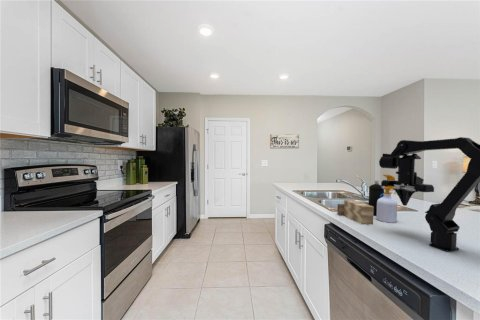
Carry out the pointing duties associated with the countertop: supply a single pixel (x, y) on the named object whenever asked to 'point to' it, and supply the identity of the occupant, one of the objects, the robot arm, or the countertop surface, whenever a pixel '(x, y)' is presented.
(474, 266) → the countertop surface
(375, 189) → the aerosol can
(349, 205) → the bar
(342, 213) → the stop block
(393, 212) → the soap bottle
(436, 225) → the robot arm
